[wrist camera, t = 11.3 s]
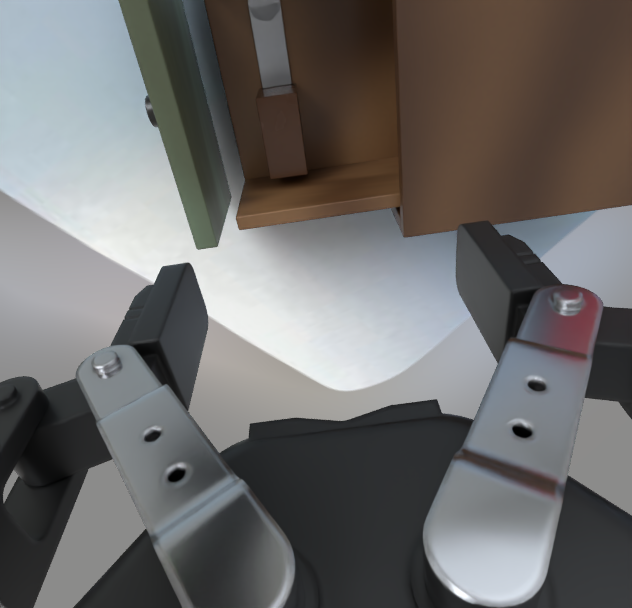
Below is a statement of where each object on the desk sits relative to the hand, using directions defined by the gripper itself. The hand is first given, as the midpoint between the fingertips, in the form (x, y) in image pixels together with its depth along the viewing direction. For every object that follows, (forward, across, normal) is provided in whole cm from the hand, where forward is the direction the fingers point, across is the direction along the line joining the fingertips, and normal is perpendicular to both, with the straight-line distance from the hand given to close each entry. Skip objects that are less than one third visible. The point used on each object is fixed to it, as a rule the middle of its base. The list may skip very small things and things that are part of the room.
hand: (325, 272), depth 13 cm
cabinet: (+20, -12, -2) cm, 23 cm away
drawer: (+19, +1, -2) cm, 19 cm away
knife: (+18, +1, -2) cm, 18 cm away
